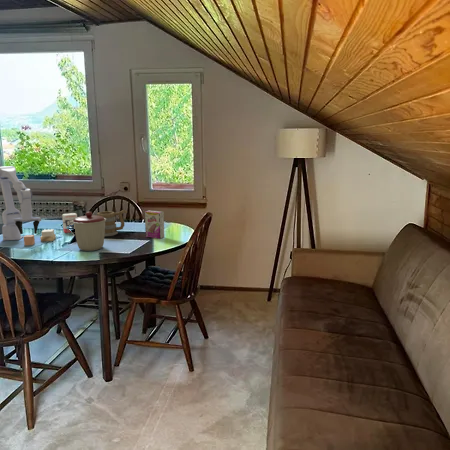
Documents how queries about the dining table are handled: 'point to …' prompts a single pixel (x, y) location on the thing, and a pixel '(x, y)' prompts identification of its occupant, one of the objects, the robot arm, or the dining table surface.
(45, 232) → the off-white slab
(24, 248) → the dining table surface
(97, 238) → the canister
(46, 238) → the beech slab
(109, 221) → the tankard
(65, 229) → the ink box
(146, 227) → the candy bar box
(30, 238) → the terracotta block
